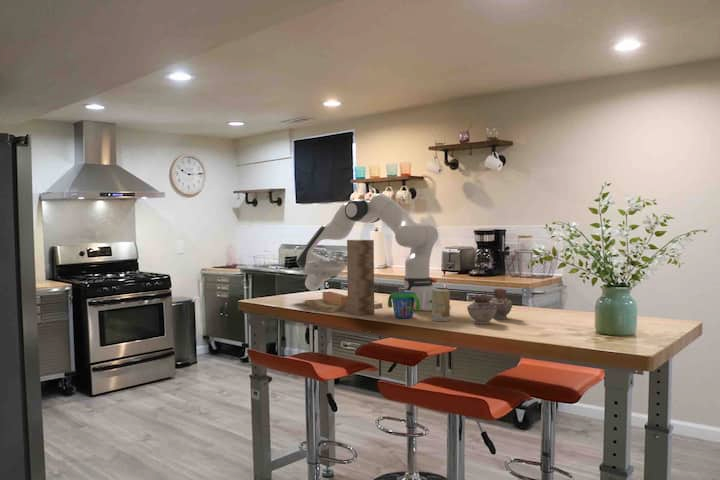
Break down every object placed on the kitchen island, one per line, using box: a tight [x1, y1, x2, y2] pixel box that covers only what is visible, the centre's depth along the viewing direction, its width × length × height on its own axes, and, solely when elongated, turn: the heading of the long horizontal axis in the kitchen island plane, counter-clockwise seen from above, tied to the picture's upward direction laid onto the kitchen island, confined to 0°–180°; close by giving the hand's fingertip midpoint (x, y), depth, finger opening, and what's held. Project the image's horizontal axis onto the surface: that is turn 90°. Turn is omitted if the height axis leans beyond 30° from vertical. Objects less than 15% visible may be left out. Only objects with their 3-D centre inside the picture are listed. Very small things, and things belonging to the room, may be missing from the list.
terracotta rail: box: [322, 291, 348, 306], centre depth 263 cm, size 4×22×4 cm, turn 26°
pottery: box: [466, 288, 514, 325], centre depth 222 cm, size 11×25×12 cm, turn 138°
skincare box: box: [431, 289, 451, 322], centre depth 223 cm, size 6×4×12 cm
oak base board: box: [304, 298, 383, 313], centre depth 266 cm, size 28×28×2 cm
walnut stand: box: [346, 239, 375, 316], centre depth 243 cm, size 8×10×32 cm
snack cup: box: [387, 291, 420, 319], centre depth 232 cm, size 16×10×10 cm
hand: (329, 259), depth 268 cm, fingers open, 8 cm apart
